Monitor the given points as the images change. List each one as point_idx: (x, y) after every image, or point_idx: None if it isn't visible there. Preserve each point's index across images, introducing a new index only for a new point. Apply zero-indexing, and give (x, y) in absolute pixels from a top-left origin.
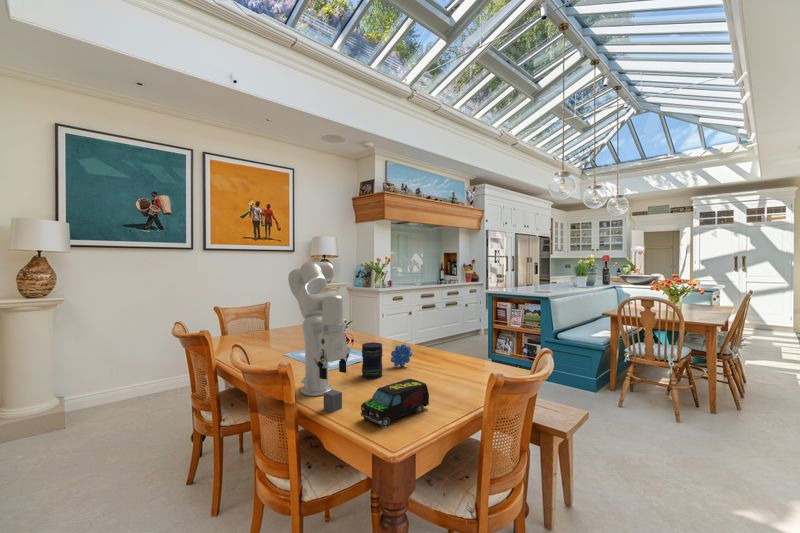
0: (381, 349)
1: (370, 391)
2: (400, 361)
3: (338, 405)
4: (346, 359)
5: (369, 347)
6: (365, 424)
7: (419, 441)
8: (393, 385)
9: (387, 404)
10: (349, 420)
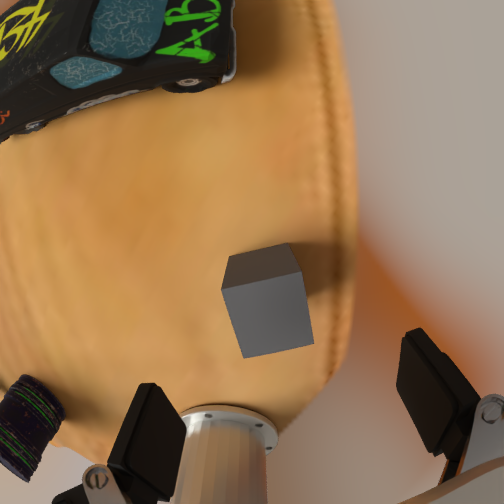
0: None
1: (62, 320)
2: None
3: (252, 257)
4: (93, 483)
5: (4, 458)
6: (244, 42)
7: None
8: (14, 49)
9: None
10: (277, 113)
